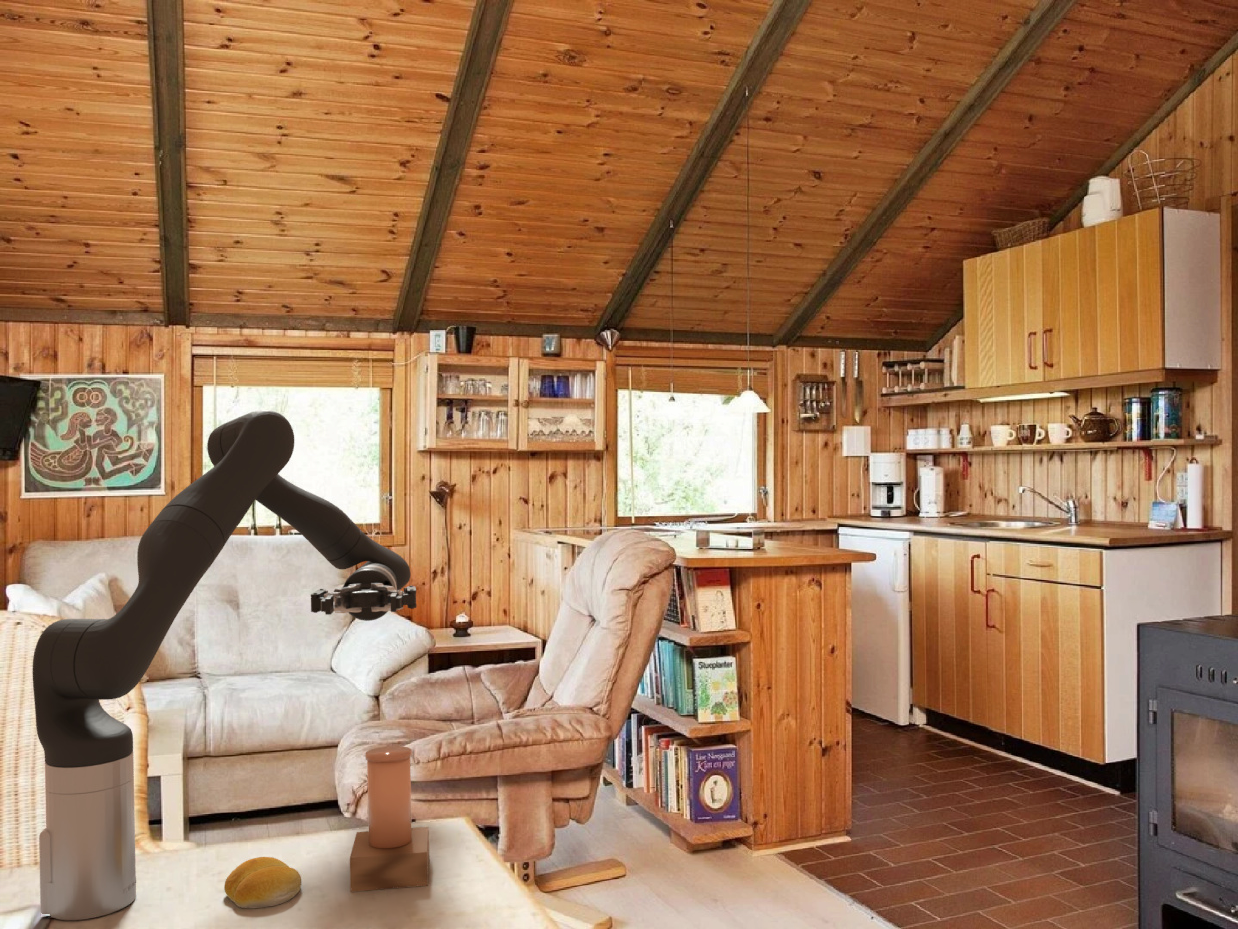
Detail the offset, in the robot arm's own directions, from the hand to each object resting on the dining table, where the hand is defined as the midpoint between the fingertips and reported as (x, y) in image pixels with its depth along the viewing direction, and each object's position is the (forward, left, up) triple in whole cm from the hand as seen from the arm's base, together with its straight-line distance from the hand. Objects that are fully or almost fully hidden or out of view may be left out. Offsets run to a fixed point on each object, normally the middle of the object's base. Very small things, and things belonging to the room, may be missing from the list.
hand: (360, 605), depth 139 cm
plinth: (+4, -11, -32) cm, 34 cm away
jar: (+4, -11, -28) cm, 30 cm away
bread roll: (-11, -14, -33) cm, 37 cm away
